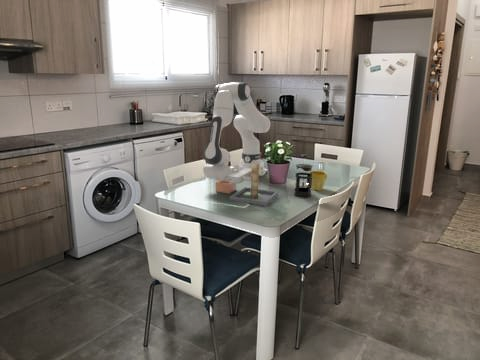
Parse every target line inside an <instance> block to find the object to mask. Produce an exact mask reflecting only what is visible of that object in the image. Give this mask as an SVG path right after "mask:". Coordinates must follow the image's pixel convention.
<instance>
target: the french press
mask: <svg viewBox="0 0 480 360" xmlns="http://www.w3.org/2000/svg"><path fill="white" fill-rule="evenodd" d="M300 156H302V157H303V158H304V159H303V163H298V164H296V166H295V167H296V170H298V169H302V171H303V172H301V171H300V172H296V173H295V175H294V176H295V180H296V181H295V188H294V194H293V195H294V196H295V197H297V198H301V199H308V198H311V196H312V189H311V185H312V173H309V172H310V171H313V170H312V168H313V167H314V166H313V165H312V164H309V163H308V164H307V163H306V158H307V157H309V154H304V153H303V154H301V155H300ZM301 180H302V181H301ZM304 180H306V182H305V181H304ZM300 181H301V182H300Z"/></svg>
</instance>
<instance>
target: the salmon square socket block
mask: <svg viewBox="0 0 480 360" xmlns="http://www.w3.org/2000/svg"><path fill="white" fill-rule="evenodd" d="M236 186H237V183H231V182H225V181H222V180H219V181H216V182H215V192H217V193H225V194H231V193H233V192H235V191H236V188H237V187H236Z"/></svg>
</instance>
